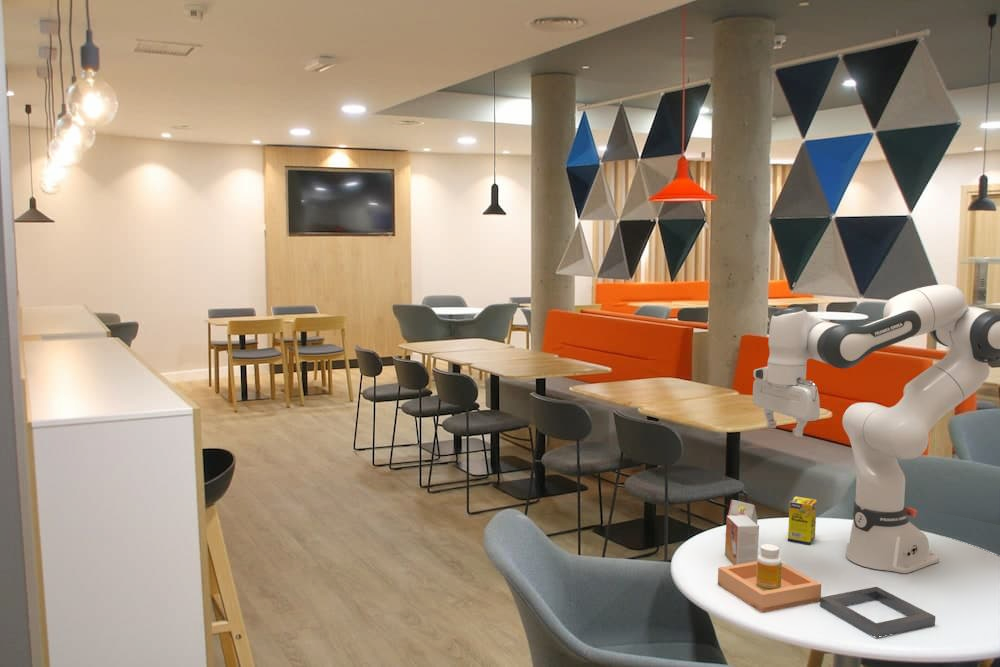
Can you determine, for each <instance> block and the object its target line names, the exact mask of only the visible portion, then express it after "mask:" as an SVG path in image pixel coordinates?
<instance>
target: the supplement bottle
mask: <svg viewBox="0 0 1000 667" xmlns="http://www.w3.org/2000/svg"><path fill="white" fill-rule="evenodd" d="M782 563H783V560H782V557H781V556H780V548H779V547H778V546H777V545H775V544H771V543H766V544H761V545H760V553H758V557H757V575H756V586H757V587H758V588H759V589H761V590H763V591H767V590H773V589H778V588H781V568H782Z"/></svg>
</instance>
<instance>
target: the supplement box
mask: <svg viewBox="0 0 1000 667" xmlns="http://www.w3.org/2000/svg"><path fill="white" fill-rule="evenodd" d="M817 502H818V500H817V499H814V498H808V497H801V496H796V495H795V496H794V497H793V498H792V500H790V501H789V505H788V506H789V509H788V512H789V513H788V535H787V541H788V542H792V543H797V544H801V545H807V546H808V545H809V546H810V545H811V544H812V542H813V541H814V540H815V539H816V527H817V526H816V523H817V504H818V503H817Z"/></svg>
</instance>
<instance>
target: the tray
mask: <svg viewBox="0 0 1000 667" xmlns="http://www.w3.org/2000/svg"><path fill="white" fill-rule="evenodd" d="M717 568H718V569H717V586H718V585H719V586H720V587H722V588H723V589H725V590H726V591H728V592H729V593H731V594H732V595H734V596H736V597H737V598H739V599H740V600H742V601H743V602H745V603H746V604H748V605H750V606H751V607H752V608H754V609H756V610H757V611H759V612H760V613H766V612H772V611H776V610H782V609H785V608H786V609H787V608H792V607H797V606H801V605H807V604H813V603H818V602H820V597H822V583H820V582H819V581H817V580H815V579H813V578H812V577H809V576H808V575H807V574H804V573H802V572H800V571H799V570H797V569H795V568H793V567H791V566H789V565H787V564H786V563H784V562H782V568H781V588H778V589H773V590H767V591H763V590H761V589H759V588H758V587H757V586H756V575H757V561H755V562H749V563H743V564H737V565H734V564H733V565H732V564H731V565H727V566H720V567H717Z"/></svg>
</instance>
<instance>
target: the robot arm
mask: <svg viewBox="0 0 1000 667" xmlns="http://www.w3.org/2000/svg"><path fill="white" fill-rule="evenodd" d="M882 314H883V317H882V318H881V319H878V320H875V321H872V322H870V323H867V324H864V325H860V326H857V325H849V324H840V323H834V322H830V321H827V320H825V319H821V318H819V317H817V316H815V315H813V314H811V313H810V312H808V311H807V310H806V308H804V307H799V306H797V307H796V306H794V307H793V306H792V307H784V308H779V309H778V310H776V311H774V312H773V314H772V315H771V319H770V322H769V329H768V340H767V341H768V342H767V345H768V348H769V355H768V357H767V358H768V359H767V366H764V367H759V368H756V369H754V370H753V377H754V381H753V385H752V402H753V405H754V406H755V407H758V408H761V409H763V414H764V417H765V420H766V427H767V428H768V429H776V428H777V420H775V418H774V417H775V416H774V413H778V414H781V415H784V416H788V417H791V418H795V423H796V426H795V427H794V428H792V436H794V437H796V438H802V437H803V435H804V428H805V427H806V425H807V424H808V422H810V421H811V422H813V421H818V420H819V418H820V416H821V408H820V407H821V406H820V403H821V402H820V395H819V392H818V390H819V388H818V387H817V385H816V384H815V383H814V381H813V380H806V379H807V363H808V362H807V361H808V360H810V359H812V360H815V361H818V362H820V363H824V364H828V365H829V366H831V367H834V368H837V369H839V370H840V369H841V370H845V369H849V368H853V367H855V366H856V365H858V364H860V362H862V361H863V360H864V359H865V358H867V357H868V356H869V355H870V354H872V353H875V352H876V351H879V350H882V349H884V348H887V347H889V346H892V345H894V344H898V343H900V342H902V341H905V340H907V339H910V338H914V337H918V336H921V335H925V334H928V333H929V334H930V336H931V338H932V339H933V340H934V341H935V342H937V343H938V344H940V345H942V346H944V347H949V350H948V351H947V353H946V355H944V356H943V357H942V359H940V360H938V361H937V362H935V363H933V365H931V366H930V367H928V368H927V369H925V370H924V371H923V372H921V373H920V374H918V375H917V376H916V377H914V378H913V379H912V380H910V381H909V382H908V383H906V384H905V385H904V388H903V396H902V397H901V399H900V400H899V401H898V402H897V403H895V405H893V406H891V407H888V406H884V405H882V404H878V403H876V402H855V403H853V404H851V405H850V406H849V407H848V408H847V409H846V410H845V412H844V413H843V415H842V421H841V422H842V423H841V424H842V427H843V430H844V432H845V433H846V435H847V437H848V439H849V443H850V445H851V450H852V455H853V459H854V465H855V473H856V475H855V476H856V478H855V479H856V480H855V500H854V502H853V505H852V517H853V520H852V523H851V529H850V531H851V532H850V537H849V542H848V543H847V546H846V552H845V557H846V558H847V559H848V560H849V561H850V562H852V563H854V564H856V565H859V566H862V567H864V568H869V569H873V570H880V571H890V572H895V573H899V574H908V573H912V572H914V571H917V570H920V569H922V568H923V569H924V568H925V567H928V566H930V565H933V564H937V563H939V562H940V558H939V556H938V555H937V554H936V553H934V552H932V551H931V550H929V549H930V547H929V546H930V544H929V539H928V537H927V535H926V534H925V533H924V532H922V531H921V530H920V529H919V528H918V527H916V525H914V524H913V523H911V521H910V520H909V519H910V518H909V516H911V517H912V518H914V517H916V516H917V515H918V510H917V509H916V508H912V507H911V506H907V507H905V493H906V492H905V490H906V476H905V474H904V471H903V470H902V468H901V466H900V464H899V461H898V459H901V460H913V459H916V458H918V457H920V456H921V455H922V454H923V453H924V452H925V451H926V450H927V448H928V445H929V442H930V436H929V433H930V431H931V430H932V429H933V427H934V426H935V425H936V424H937V422H938V421H940V420H941V418H943V417H944V416H946V415H947V414H948V413H949V412H951V411H952V410H953V409H955V408H956V407H958V406H959V405H960V404H961V403H963V402H964V401H965V400H967V399H968V398H970V396H971V395H973V394H974V393H975V392H976V391H977V390H978V389H979V388H980V387H981V386H982V385H983V384H985V382H986V380H988V378H989V376H990V366H989V363H993V362H996V361H998V360H999V359H1000V312H999V311H997V310H989V309H986V308H981V307H976V306H968V305H967V300H966V296H965V295H964V293H963V292H962V290H961V289H960V288H959V287H958V286H955V285H953V284H950V283H949V284H948V283H942V284H941V283H939V284H933V285H928V286H923V287H917V288H915V289H911V290H908V291H905V292H901V293H899V294H897V295H895V296H893V297H891V298H890V299H888V300H887V302H886V303H885V304H884V307H883V311H882Z"/></svg>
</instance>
